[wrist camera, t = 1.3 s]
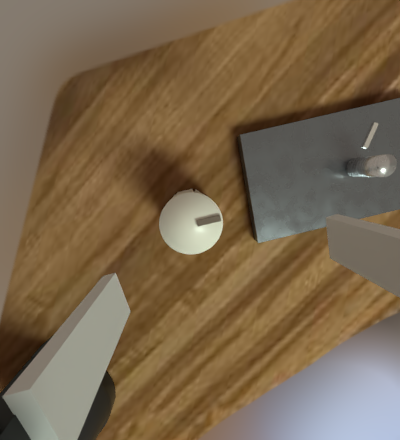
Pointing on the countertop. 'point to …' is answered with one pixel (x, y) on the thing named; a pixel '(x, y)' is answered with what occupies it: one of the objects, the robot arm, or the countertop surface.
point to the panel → (322, 169)
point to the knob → (190, 222)
